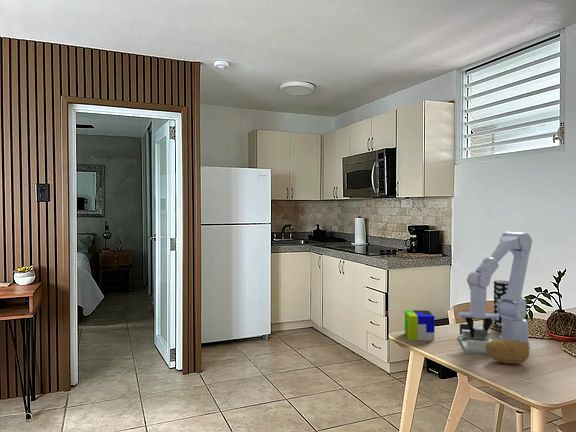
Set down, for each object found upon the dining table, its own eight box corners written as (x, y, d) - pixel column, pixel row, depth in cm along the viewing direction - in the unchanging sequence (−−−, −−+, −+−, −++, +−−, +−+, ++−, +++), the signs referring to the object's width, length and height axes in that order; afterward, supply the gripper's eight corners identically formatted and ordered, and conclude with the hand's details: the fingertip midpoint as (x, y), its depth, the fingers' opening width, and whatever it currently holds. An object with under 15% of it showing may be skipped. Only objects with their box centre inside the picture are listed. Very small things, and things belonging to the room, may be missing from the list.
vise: (490, 340, 182) (490, 331, 182) (500, 355, 164) (500, 344, 164) (458, 339, 185) (458, 329, 184) (465, 353, 167) (465, 342, 167)
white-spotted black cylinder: (496, 328, 200) (496, 283, 199) (491, 323, 208) (491, 280, 207) (516, 328, 198) (516, 283, 198) (510, 323, 207) (510, 280, 206)
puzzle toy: (434, 340, 183) (434, 316, 183) (409, 340, 184) (409, 316, 184) (428, 333, 193) (428, 310, 193) (404, 333, 194) (404, 310, 194)
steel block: (481, 338, 178) (481, 324, 178) (486, 344, 170) (486, 330, 170) (471, 337, 179) (471, 324, 179) (474, 344, 171) (474, 329, 171)
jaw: (485, 335, 187) (485, 324, 187) (489, 340, 179) (489, 330, 179) (459, 333, 189) (459, 323, 189) (462, 339, 181) (462, 328, 181)
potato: (482, 357, 163) (482, 335, 163) (525, 359, 160) (525, 337, 160) (488, 366, 154) (488, 343, 154) (533, 369, 151) (533, 346, 150)
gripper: (460, 304, 172) (460, 339, 173) (500, 305, 169) (500, 341, 169) (457, 300, 179) (457, 333, 179) (496, 301, 176) (496, 336, 176)
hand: (478, 337), depth 175 cm, fingers closed on steel block, 4 cm apart
